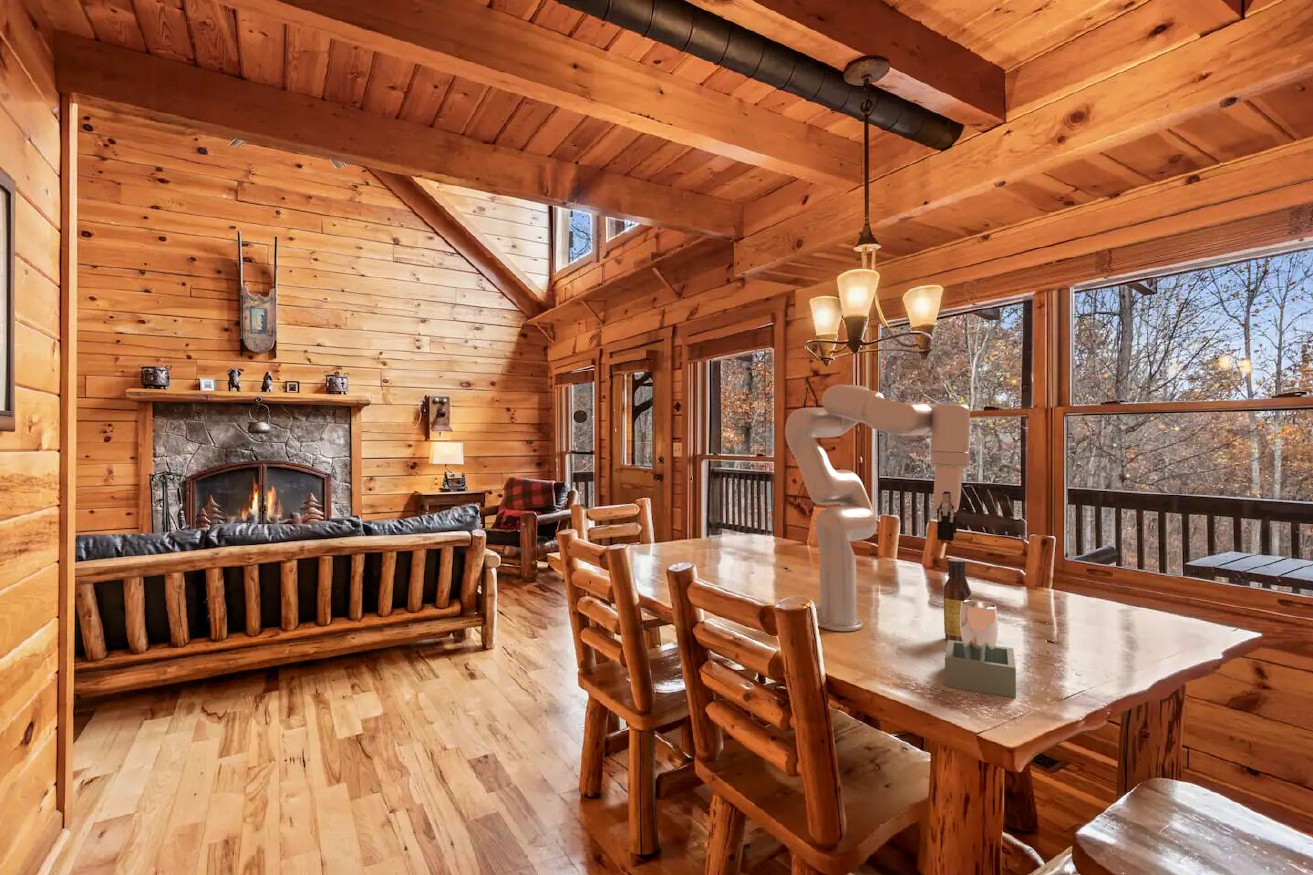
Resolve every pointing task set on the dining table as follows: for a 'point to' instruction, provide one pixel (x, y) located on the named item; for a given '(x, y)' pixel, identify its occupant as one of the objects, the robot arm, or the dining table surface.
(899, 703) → the dining table surface
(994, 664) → the box
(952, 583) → the sauce bottle
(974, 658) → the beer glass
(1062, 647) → the dining table surface
